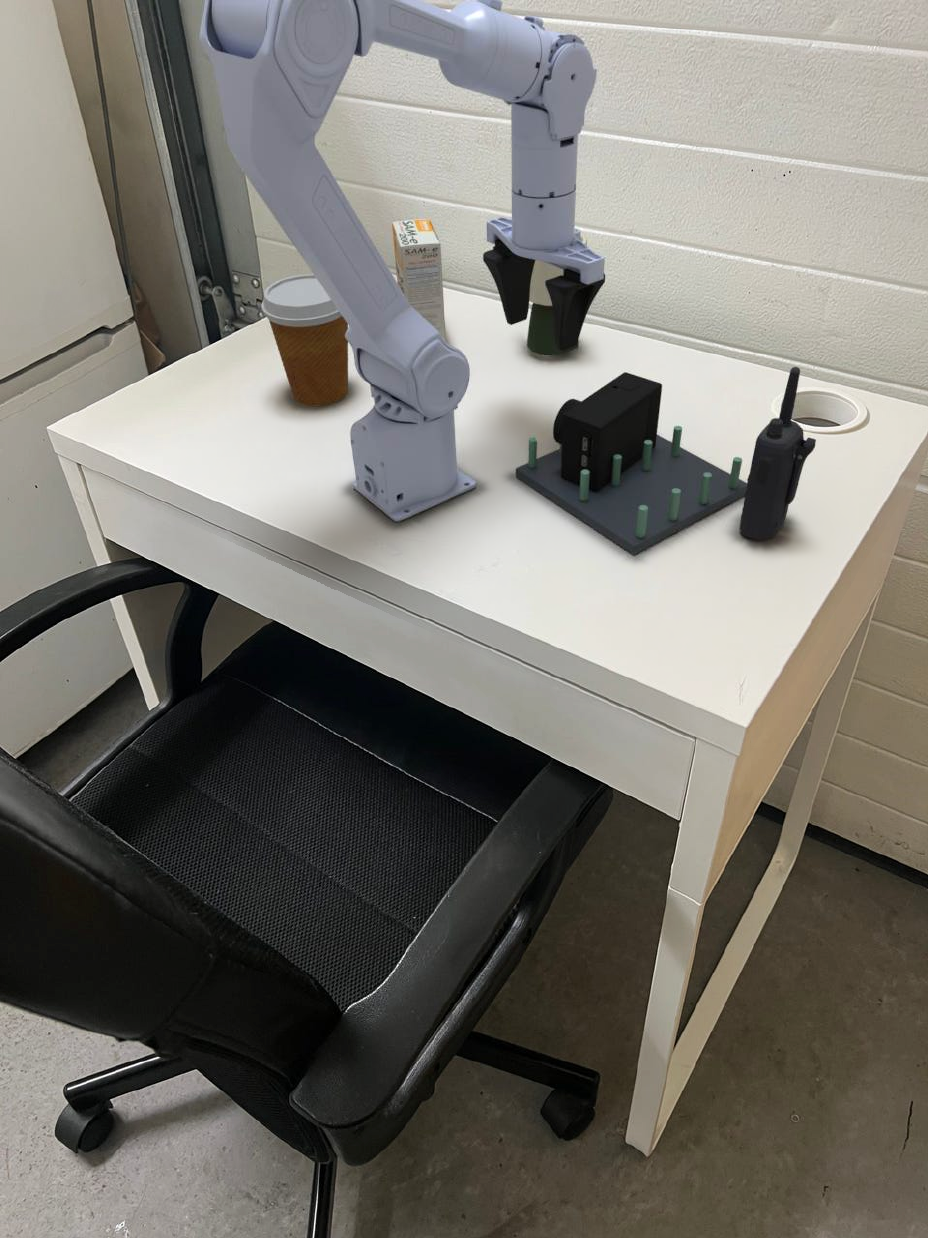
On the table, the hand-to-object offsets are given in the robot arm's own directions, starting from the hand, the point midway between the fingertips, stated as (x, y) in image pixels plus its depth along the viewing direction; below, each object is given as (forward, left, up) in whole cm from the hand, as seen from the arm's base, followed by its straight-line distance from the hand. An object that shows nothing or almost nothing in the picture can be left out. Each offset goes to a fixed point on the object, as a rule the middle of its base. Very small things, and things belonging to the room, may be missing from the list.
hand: (541, 333), depth 92 cm
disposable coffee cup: (-14, +22, -11) cm, 28 cm away
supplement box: (+3, +26, -11) cm, 28 cm away
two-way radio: (+4, -27, -11) cm, 29 cm away
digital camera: (0, -10, -10) cm, 14 cm away
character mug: (+13, +13, -11) cm, 21 cm away
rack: (0, -14, -10) cm, 17 cm away
